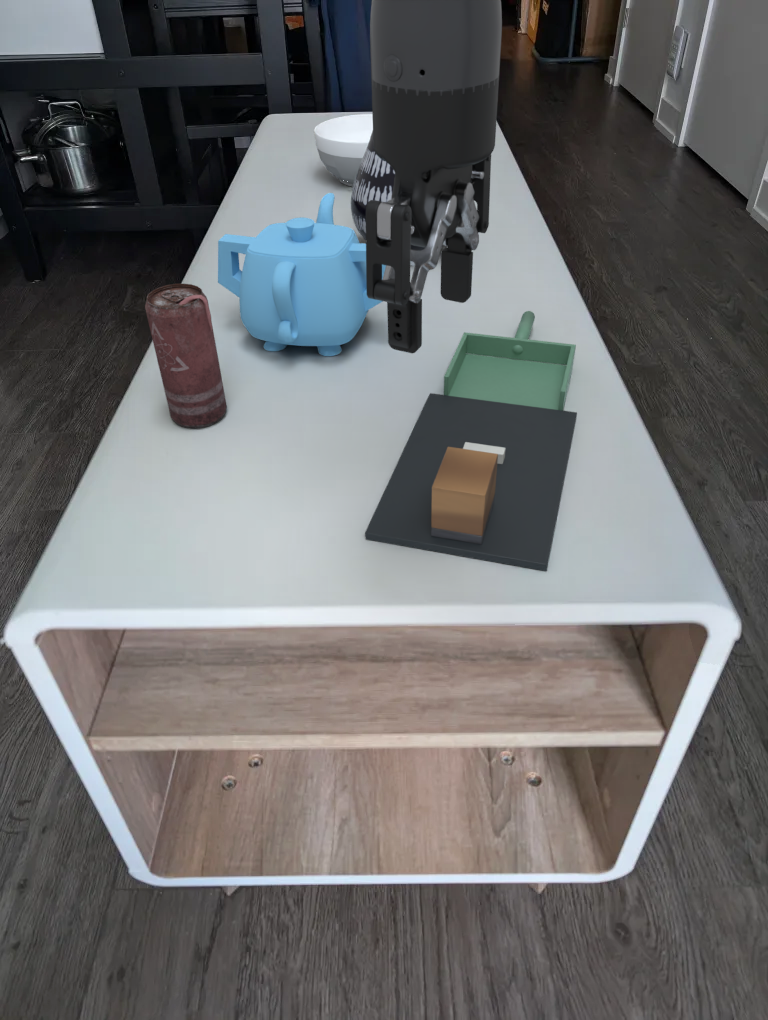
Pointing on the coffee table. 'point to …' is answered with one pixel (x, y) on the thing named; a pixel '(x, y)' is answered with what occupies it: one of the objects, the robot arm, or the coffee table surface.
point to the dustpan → (511, 369)
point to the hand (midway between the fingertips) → (431, 322)
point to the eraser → (463, 495)
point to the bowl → (344, 144)
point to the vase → (371, 187)
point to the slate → (519, 480)
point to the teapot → (299, 282)
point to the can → (186, 354)
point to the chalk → (487, 450)
